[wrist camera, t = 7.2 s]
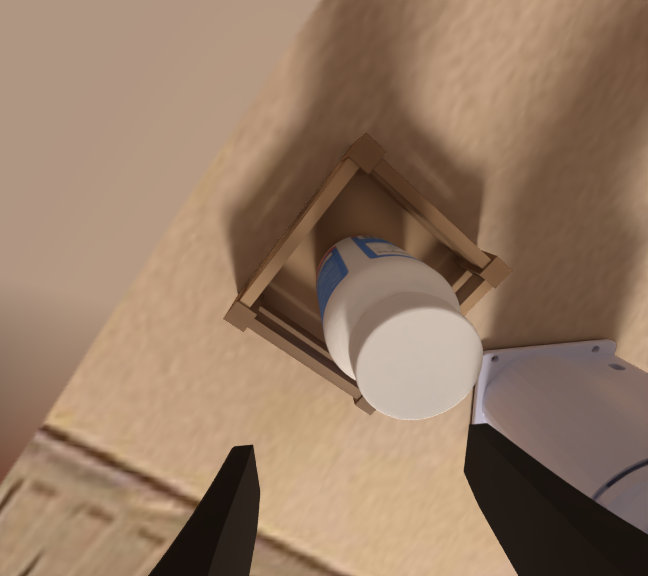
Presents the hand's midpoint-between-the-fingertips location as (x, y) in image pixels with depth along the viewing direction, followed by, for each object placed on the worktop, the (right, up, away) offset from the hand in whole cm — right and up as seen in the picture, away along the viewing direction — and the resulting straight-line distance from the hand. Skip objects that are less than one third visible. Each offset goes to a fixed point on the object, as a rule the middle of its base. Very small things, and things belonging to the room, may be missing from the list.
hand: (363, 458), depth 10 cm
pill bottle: (+1, +6, +8) cm, 11 cm away
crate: (+1, +6, +9) cm, 11 cm away
